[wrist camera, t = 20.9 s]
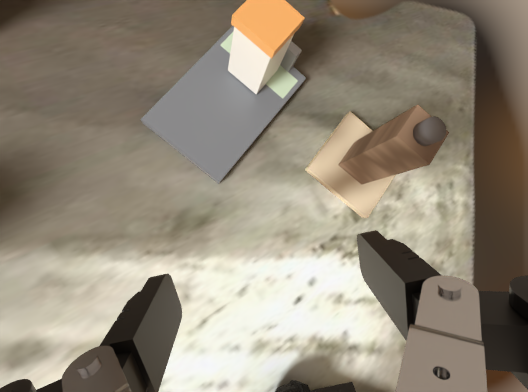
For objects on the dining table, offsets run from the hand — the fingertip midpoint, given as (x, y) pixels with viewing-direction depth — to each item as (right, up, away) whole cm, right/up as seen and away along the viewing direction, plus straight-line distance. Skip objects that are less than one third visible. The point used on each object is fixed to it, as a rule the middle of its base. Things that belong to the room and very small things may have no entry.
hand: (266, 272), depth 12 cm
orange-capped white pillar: (-1, +17, +19) cm, 26 cm away
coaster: (+11, +7, +22) cm, 25 cm away
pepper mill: (+11, +7, +21) cm, 24 cm away
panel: (-4, +14, +19) cm, 24 cm away
